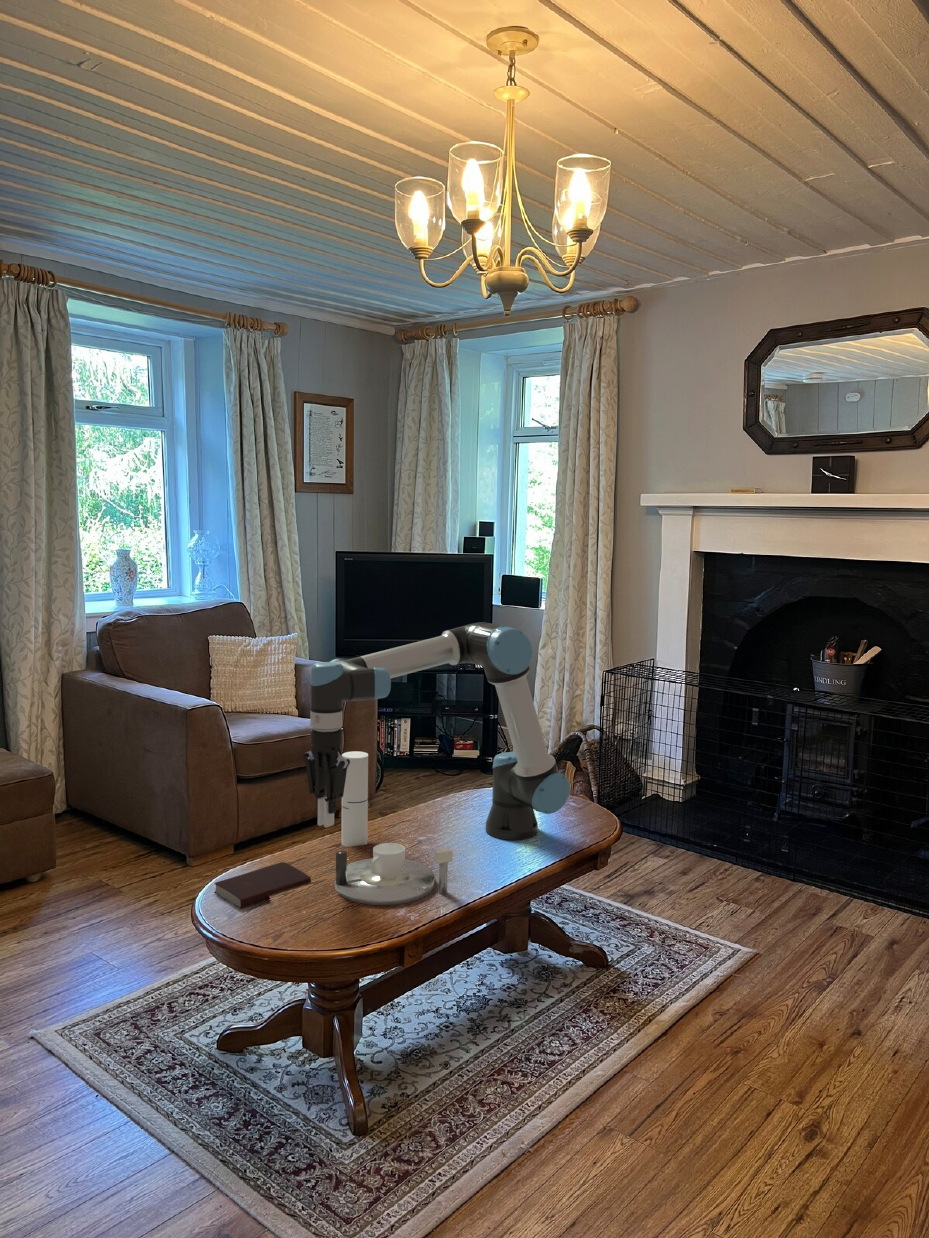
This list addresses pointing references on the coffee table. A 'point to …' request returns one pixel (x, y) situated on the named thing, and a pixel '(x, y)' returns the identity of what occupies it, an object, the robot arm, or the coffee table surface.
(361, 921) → the coffee table surface
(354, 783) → the cylindrical container
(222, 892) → the book
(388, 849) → the cup
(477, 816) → the coffee table surface
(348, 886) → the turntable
